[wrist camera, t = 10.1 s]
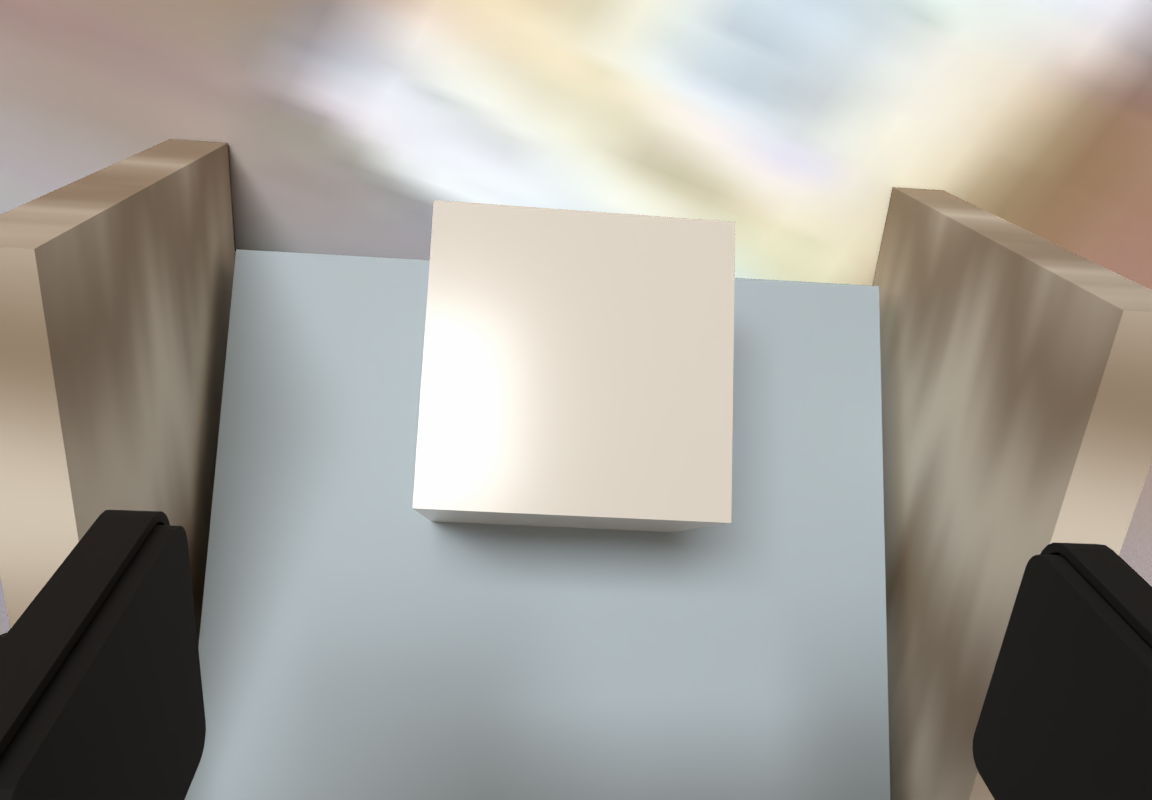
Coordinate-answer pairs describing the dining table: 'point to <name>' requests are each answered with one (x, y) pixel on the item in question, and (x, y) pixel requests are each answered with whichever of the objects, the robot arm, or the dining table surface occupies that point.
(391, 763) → the trapdoor
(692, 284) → the limestone cube
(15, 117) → the dining table surface
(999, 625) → the stand
